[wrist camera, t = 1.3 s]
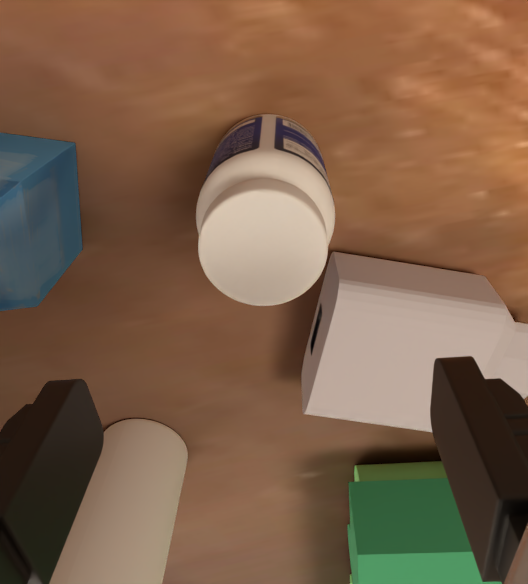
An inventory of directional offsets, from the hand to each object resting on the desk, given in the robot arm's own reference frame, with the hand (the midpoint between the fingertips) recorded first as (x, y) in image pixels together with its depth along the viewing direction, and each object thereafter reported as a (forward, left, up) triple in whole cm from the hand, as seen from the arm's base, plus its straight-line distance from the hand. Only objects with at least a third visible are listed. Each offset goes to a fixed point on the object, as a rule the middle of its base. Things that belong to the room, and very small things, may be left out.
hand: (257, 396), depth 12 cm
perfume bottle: (+4, -13, -17) cm, 22 cm away
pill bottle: (0, 0, -17) cm, 17 cm away
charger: (+8, +12, -17) cm, 22 cm away
